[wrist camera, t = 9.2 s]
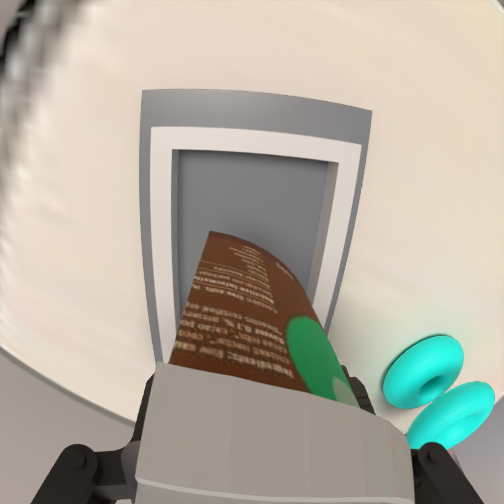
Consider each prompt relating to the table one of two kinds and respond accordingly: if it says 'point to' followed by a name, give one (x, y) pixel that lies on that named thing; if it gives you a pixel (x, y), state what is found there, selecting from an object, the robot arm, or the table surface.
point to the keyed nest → (246, 190)
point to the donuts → (437, 393)
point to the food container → (261, 400)
